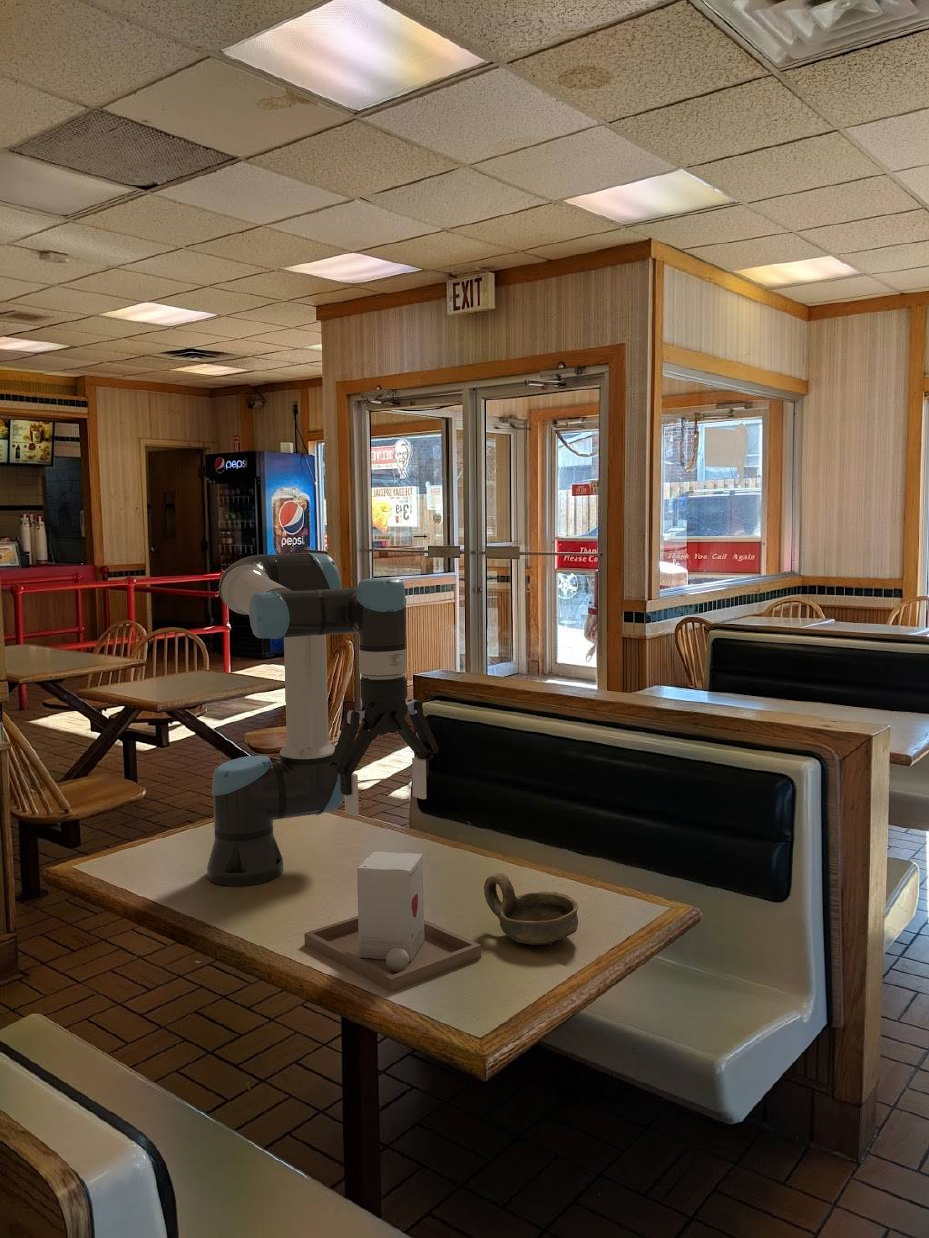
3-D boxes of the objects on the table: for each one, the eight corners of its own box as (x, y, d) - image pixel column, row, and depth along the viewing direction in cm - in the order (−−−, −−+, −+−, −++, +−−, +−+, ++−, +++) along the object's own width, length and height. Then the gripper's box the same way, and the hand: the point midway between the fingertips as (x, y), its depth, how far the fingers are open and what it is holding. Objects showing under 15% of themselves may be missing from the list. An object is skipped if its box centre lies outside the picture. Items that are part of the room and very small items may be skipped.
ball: (381, 970, 157) (380, 948, 157) (400, 963, 160) (399, 941, 159) (395, 978, 154) (394, 955, 154) (414, 971, 157) (413, 948, 156)
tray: (304, 947, 168) (304, 933, 168) (391, 918, 180) (391, 905, 180) (391, 995, 150) (391, 979, 150) (481, 959, 162) (481, 944, 162)
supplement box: (412, 963, 160) (409, 870, 158) (357, 959, 162) (355, 867, 160) (426, 940, 169) (424, 852, 167) (374, 936, 170) (372, 850, 169)
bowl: (553, 964, 160) (552, 903, 159) (464, 939, 170) (463, 882, 169) (596, 935, 171) (595, 878, 170) (510, 914, 181) (509, 859, 180)
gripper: (330, 687, 150) (334, 826, 152) (458, 669, 166) (460, 795, 168) (303, 682, 156) (308, 816, 158) (429, 664, 172) (431, 786, 174)
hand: (386, 805), depth 163 cm, fingers open, 13 cm apart
